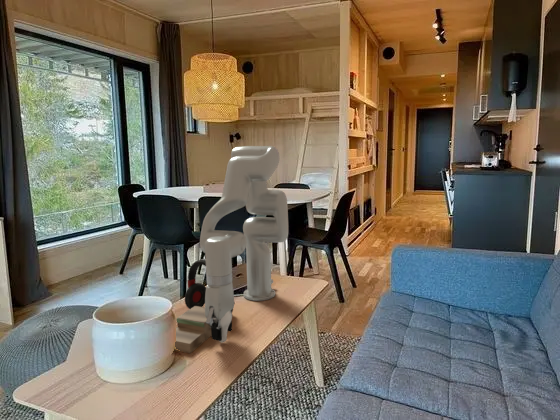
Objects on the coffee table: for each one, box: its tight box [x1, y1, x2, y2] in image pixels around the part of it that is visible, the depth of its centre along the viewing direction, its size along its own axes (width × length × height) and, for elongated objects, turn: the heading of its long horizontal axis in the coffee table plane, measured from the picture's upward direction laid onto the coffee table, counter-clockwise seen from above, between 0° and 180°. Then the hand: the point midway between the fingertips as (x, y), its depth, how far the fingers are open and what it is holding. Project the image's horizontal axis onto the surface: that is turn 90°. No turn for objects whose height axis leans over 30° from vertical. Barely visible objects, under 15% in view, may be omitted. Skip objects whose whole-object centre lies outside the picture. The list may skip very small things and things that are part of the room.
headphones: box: [184, 258, 206, 310], centre depth 144 cm, size 18×10×20 cm, turn 53°
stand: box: [175, 306, 212, 354], centre depth 128 cm, size 18×10×6 cm, turn 158°
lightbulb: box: [214, 311, 233, 343], centre depth 123 cm, size 6×6×11 cm
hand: (222, 334), depth 124 cm, fingers closed on lightbulb, 5 cm apart
